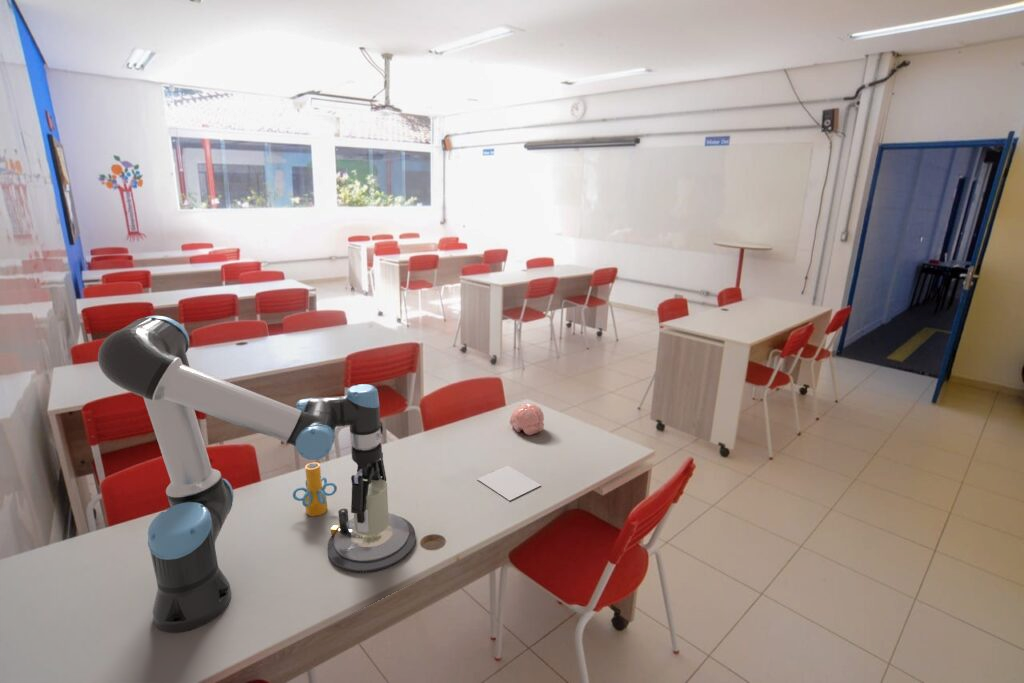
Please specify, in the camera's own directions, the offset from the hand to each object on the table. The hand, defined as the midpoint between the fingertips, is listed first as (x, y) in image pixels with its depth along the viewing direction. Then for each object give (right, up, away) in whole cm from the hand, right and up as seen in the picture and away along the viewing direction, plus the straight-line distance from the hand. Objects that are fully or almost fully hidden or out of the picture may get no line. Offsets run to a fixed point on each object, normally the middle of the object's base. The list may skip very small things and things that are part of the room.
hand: (371, 520), depth 138 cm
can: (0, -2, 0) cm, 2 cm away
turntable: (0, -6, +2) cm, 6 cm away
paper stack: (+30, 0, +33) cm, 45 cm away
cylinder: (-21, -3, +16) cm, 26 cm away
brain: (+44, +12, +72) cm, 85 cm away
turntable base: (0, -7, +2) cm, 7 cm away
